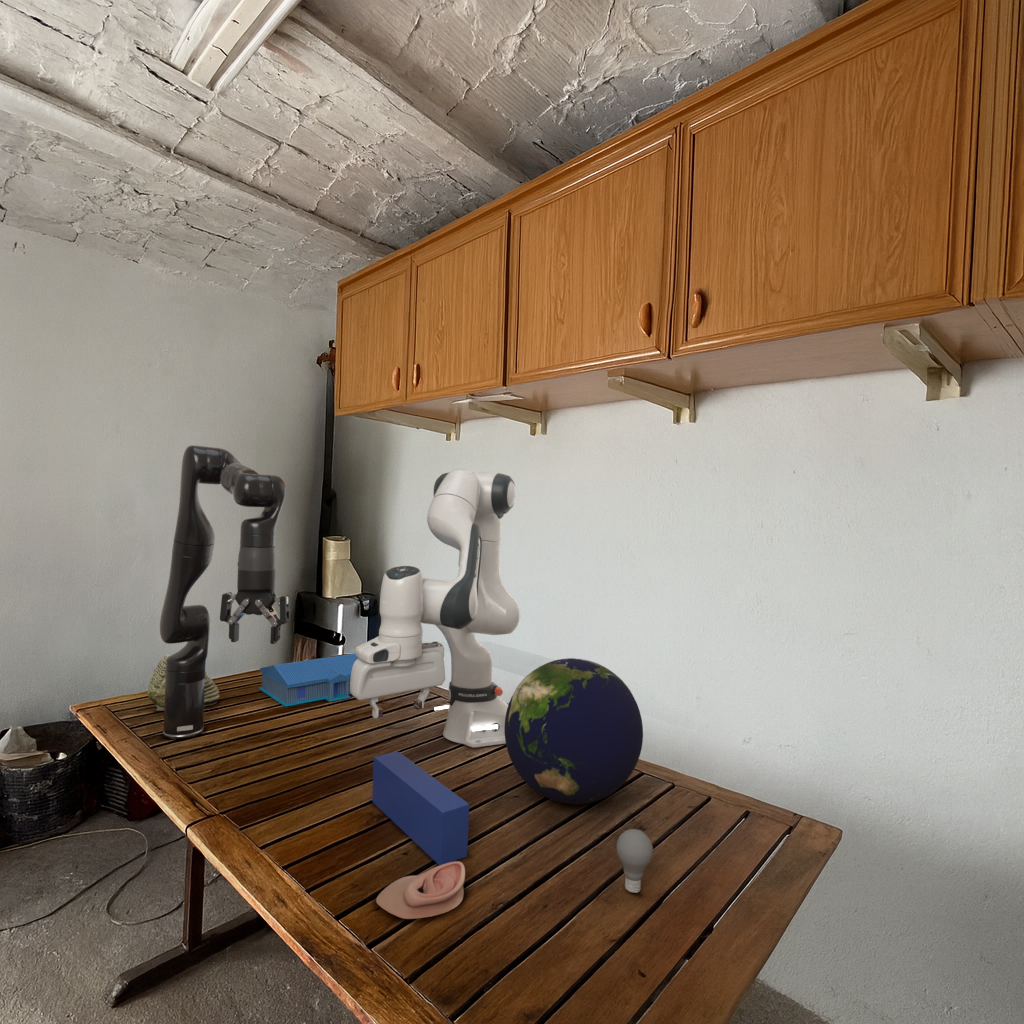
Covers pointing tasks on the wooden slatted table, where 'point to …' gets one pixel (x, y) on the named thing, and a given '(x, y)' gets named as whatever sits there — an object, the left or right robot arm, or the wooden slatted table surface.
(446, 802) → the bar
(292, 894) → the wooden slatted table surface
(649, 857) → the light bulb
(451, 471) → the right robot arm
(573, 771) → the globe
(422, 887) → the anatomical model
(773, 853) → the wooden slatted table surface
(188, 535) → the left robot arm
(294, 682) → the model building
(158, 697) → the fossil
